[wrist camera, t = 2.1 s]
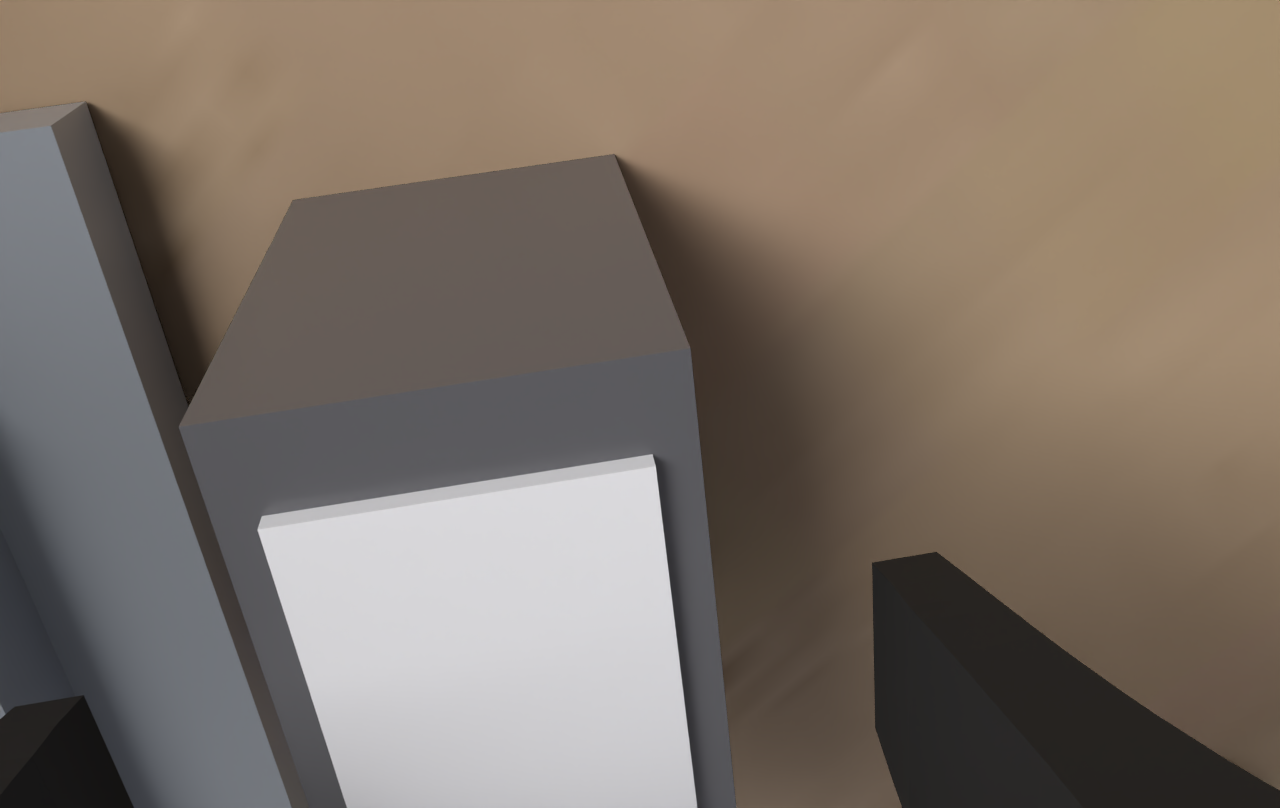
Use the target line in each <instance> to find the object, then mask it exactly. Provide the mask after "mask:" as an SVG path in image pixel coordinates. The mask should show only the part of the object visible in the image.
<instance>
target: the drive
mask: <svg viewBox="0 0 1280 808" xmlns="http://www.w3.org/2000/svg"><path fill="white" fill-rule="evenodd" d="M179 430H180V433H181V436H182V439H183V442H184V444H185V447H186V450H187V453H188V456H189V459H190V462H191V465H192V468H193V471H194V474H195V476H196V479H197V482H198V485H199V488H200V491H201V494H202V497H203V500H204V503H205V506H206V508H207V511H208V514H209V517H210V520H211V523H212V526H213V529H214V532H215V535H216V538H217V541H218V543H219V546H220V549H221V552H222V555H223V558H224V561H225V564H226V567H227V570H228V573H229V575H230V578H231V581H232V584H233V587H234V590H235V593H236V596H237V599H238V602H239V605H240V607H241V610H242V613H243V616H244V619H245V622H246V625H247V628H248V631H249V634H250V637H251V639H252V642H253V645H254V648H255V651H256V654H257V657H258V660H259V663H260V666H261V669H262V672H263V674H264V677H265V680H266V683H267V686H268V689H269V692H270V695H271V698H272V701H273V704H274V706H275V709H276V712H277V715H278V718H279V721H280V724H281V727H282V730H283V733H284V736H285V738H286V741H287V744H288V747H289V750H290V753H291V756H292V759H293V762H294V765H295V768H296V771H297V773H298V776H299V779H300V782H301V785H302V788H303V791H304V794H305V797H306V800H307V803H308V805H309V808H736V800H735V790H734V780H733V770H732V760H731V750H730V740H729V730H728V720H727V710H726V700H725V690H724V680H723V670H722V660H721V650H720V640H719V630H718V619H717V609H716V599H715V589H714V579H713V569H712V559H711V549H710V539H709V529H708V519H707V509H706V499H705V489H704V479H703V469H702V459H701V449H700V439H699V429H698V419H697V409H696V398H695V388H694V378H693V368H692V358H691V348H690V346H689V343H688V341H687V338H686V336H685V333H684V330H683V328H682V325H681V323H680V320H679V318H678V315H677V313H676V310H675V308H674V305H673V302H672V300H671V297H670V295H669V292H668V290H667V287H666V285H665V282H664V280H663V277H662V275H661V272H660V269H659V267H658V264H657V262H656V259H655V257H654V254H653V252H652V249H651V247H650V244H649V241H648V239H647V236H646V234H645V231H644V229H643V226H642V224H641V221H640V219H639V216H638V213H637V211H636V208H635V206H634V203H633V201H632V198H631V196H630V193H629V191H628V188H627V185H626V183H625V180H624V178H623V175H622V173H621V170H620V168H619V165H618V163H617V160H616V157H615V155H614V154H612V155H605V156H598V157H591V158H584V159H577V160H570V161H563V162H556V163H549V164H542V165H535V166H528V167H521V168H514V169H507V170H500V171H493V172H486V173H479V174H472V175H465V176H458V177H451V178H444V179H437V180H430V181H423V182H416V183H409V184H402V185H395V186H388V187H381V188H374V189H367V190H360V191H353V192H346V193H339V194H332V195H325V196H318V197H311V198H304V199H297V200H293V201H292V203H291V205H290V207H289V209H288V211H287V213H286V215H285V217H284V219H283V221H282V223H281V225H280V227H279V229H278V231H277V233H276V235H275V237H274V239H273V241H272V243H271V245H270V247H269V249H268V251H267V253H266V255H265V257H264V259H263V261H262V263H261V265H260V266H259V268H258V270H257V272H256V274H255V276H254V278H253V280H252V282H251V284H250V286H249V288H248V290H247V292H246V294H245V296H244V298H243V300H242V302H241V304H240V306H239V308H238V310H237V312H236V314H235V316H234V318H233V320H232V322H231V324H230V326H229V328H228V330H227V332H226V334H225V336H224V338H223V340H222V342H221V344H220V346H219V348H218V350H217V352H216V354H215V356H214V358H213V360H212V362H211V364H210V366H209V368H208V369H207V371H206V373H205V375H204V377H203V379H202V381H201V383H200V385H199V387H198V389H197V391H196V393H195V395H194V397H193V399H192V401H191V403H190V405H189V407H188V409H187V411H186V413H185V415H184V417H183V419H182V421H181V423H180V425H179Z"/></svg>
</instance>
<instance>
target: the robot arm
mask: <svg viewBox="0 0 1280 808" xmlns="http://www.w3.org/2000/svg"><path fill="white" fill-rule="evenodd" d="M872 575H873V628H874V681H875V728H876V731H877V734H878V737H879V740H880V743H881V746H882V749H883V752H884V755H885V758H886V761H887V764H888V767H889V770H890V774H891V777H892V780H893V783H894V785H895V788H896V791H897V794H898V797H899V800H900V802H901V805H902V808H1280V791H1279V790H1278V789H1276V788H1274V787H1272V786H1270V785H1268V784H1267V783H1265V782H1263V781H1262V780H1260V779H1258V778H1257V777H1255V776H1253V775H1251V774H1250V773H1248V772H1246V771H1245V770H1243V769H1241V768H1240V767H1238V766H1236V765H1235V764H1233V763H1231V762H1230V761H1228V760H1226V759H1225V758H1223V757H1221V756H1220V755H1218V754H1217V753H1215V752H1214V751H1212V750H1210V749H1209V748H1207V747H1206V746H1204V745H1203V744H1201V743H1199V742H1198V741H1196V740H1195V739H1193V738H1192V737H1190V736H1188V735H1187V734H1185V733H1184V732H1182V731H1181V730H1179V729H1178V728H1176V727H1174V726H1173V725H1171V724H1170V723H1168V722H1167V721H1165V720H1163V719H1162V718H1160V717H1159V716H1157V715H1156V714H1154V713H1153V712H1151V711H1150V710H1148V709H1147V708H1145V707H1144V706H1142V705H1141V704H1139V703H1138V702H1136V701H1135V700H1134V699H1132V698H1131V697H1129V696H1128V695H1126V694H1125V693H1123V692H1122V691H1120V690H1119V689H1118V688H1116V687H1115V686H1113V685H1112V684H1111V683H1109V682H1108V681H1106V680H1105V679H1104V678H1102V677H1101V676H1099V675H1098V674H1097V673H1095V672H1094V671H1092V670H1091V669H1090V668H1088V667H1087V666H1085V665H1084V664H1083V663H1081V662H1080V661H1078V660H1077V659H1076V658H1074V657H1073V656H1071V655H1070V654H1069V653H1067V652H1066V651H1065V650H1063V649H1062V648H1061V647H1059V646H1058V645H1057V644H1055V643H1054V642H1053V641H1051V640H1050V639H1049V638H1047V637H1046V636H1045V635H1043V634H1042V633H1041V632H1039V631H1038V630H1037V629H1036V628H1034V627H1033V626H1032V625H1030V624H1029V623H1028V622H1026V621H1025V620H1024V619H1022V618H1021V617H1020V616H1019V615H1017V614H1016V613H1015V612H1013V611H1012V610H1011V609H1009V608H1008V607H1007V606H1006V605H1004V604H1003V603H1002V602H1000V601H999V600H998V599H997V598H995V597H994V596H993V595H991V594H990V593H989V592H988V591H986V590H985V589H984V588H982V587H981V586H980V585H979V584H977V583H976V582H975V581H973V580H972V579H971V578H970V577H968V576H967V575H966V574H964V573H963V572H962V571H960V570H959V569H958V568H957V567H955V566H954V565H953V564H951V563H950V562H949V561H947V560H946V559H945V558H944V557H942V556H941V555H940V554H938V553H937V552H933V553H928V554H922V555H916V556H910V557H904V558H898V559H892V560H886V561H880V562H874V563H872ZM0 808H134V806H133V804H132V802H131V800H130V798H129V795H128V793H127V791H126V789H125V786H124V784H123V782H122V780H121V777H120V775H119V773H118V771H117V768H116V766H115V764H114V762H113V759H112V757H111V755H110V753H109V751H108V748H107V746H106V744H105V742H104V739H103V737H102V735H101V733H100V730H99V728H98V726H97V724H96V721H95V719H94V717H93V715H92V712H91V710H90V708H89V706H88V703H87V701H86V699H85V697H84V695H81V696H75V697H69V698H63V699H57V700H51V701H45V702H39V703H33V704H27V705H21V706H16V707H14V708H12V709H11V710H10V711H9V712H8V713H7V714H5V715H4V716H3V717H2V718H1V719H0Z"/></svg>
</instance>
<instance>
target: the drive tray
mask: <svg viewBox="0 0 1280 808" xmlns="http://www.w3.org/2000/svg"><path fill="white" fill-rule="evenodd" d="M187 409H188V404H187V401H186V398H185V395H184V392H183V389H182V387H181V384H180V381H179V378H178V375H177V372H176V369H175V366H174V363H173V360H172V357H171V354H170V351H169V348H168V345H167V342H166V339H165V336H164V333H163V330H162V327H161V324H160V321H159V318H158V315H157V312H156V309H155V306H154V303H153V300H152V297H151V294H150V291H149V288H148V285H147V282H146V279H145V276H144V273H143V270H142V267H141V264H140V261H139V258H138V255H137V252H136V249H135V246H134V243H133V240H132V237H131V235H130V232H129V229H128V226H127V223H126V220H125V217H124V214H123V211H122V208H121V205H120V202H119V199H118V196H117V193H116V190H115V187H114V184H113V181H112V178H111V175H110V172H109V169H108V166H107V163H106V160H105V157H104V154H103V151H102V148H101V145H100V142H99V139H98V136H97V133H96V130H95V127H94V124H93V121H92V118H91V115H90V112H89V109H88V106H87V103H86V101H85V102H78V103H71V104H64V105H56V106H49V107H42V108H34V109H27V110H20V111H13V112H5V113H0V719H1V718H2V717H3V716H4V715H5V714H7V713H8V712H9V711H10V710H11V709H12V708H14V707H16V706H21V705H27V704H33V703H39V702H45V701H51V700H57V699H63V698H69V697H75V696H81V695H84V697H85V699H86V701H87V703H88V706H89V708H90V710H91V712H92V715H93V717H94V719H95V721H96V724H97V726H98V728H99V730H100V733H101V735H102V737H103V739H104V742H105V744H106V746H107V748H108V751H109V753H110V755H111V757H112V759H113V762H114V764H115V766H116V768H117V771H118V773H119V775H120V777H121V780H122V782H123V784H124V786H125V789H126V791H127V793H128V795H129V798H130V800H131V802H132V804H133V806H134V808H309V805H308V803H307V800H306V797H305V794H304V791H303V788H302V785H301V782H300V779H299V776H298V773H297V771H296V768H295V765H294V762H293V759H292V756H291V753H290V750H289V747H288V744H287V741H286V738H285V736H284V733H283V730H282V727H281V724H280V721H279V718H278V715H277V712H276V709H275V706H274V704H273V701H272V698H271V695H270V692H269V689H268V686H267V683H266V680H265V677H264V674H263V672H262V669H261V666H260V663H259V660H258V657H257V654H256V651H255V648H254V645H253V642H252V639H251V637H250V634H249V631H248V628H247V625H246V622H245V619H244V616H243V613H242V610H241V607H240V605H239V602H238V599H237V596H236V593H235V590H234V587H233V584H232V581H231V578H230V575H229V573H228V570H227V567H226V564H225V561H224V558H223V555H222V552H221V549H220V546H219V543H218V541H217V538H216V535H215V532H214V529H213V526H212V523H211V520H210V517H209V514H208V511H207V508H206V506H205V503H204V500H203V497H202V494H201V491H200V488H199V485H198V482H197V479H196V476H195V474H194V471H193V468H192V465H191V462H190V459H189V456H188V453H187V450H186V447H185V444H184V442H183V439H182V436H181V433H180V430H179V425H180V423H181V421H182V419H183V417H184V415H185V413H186V411H187Z"/></svg>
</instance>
